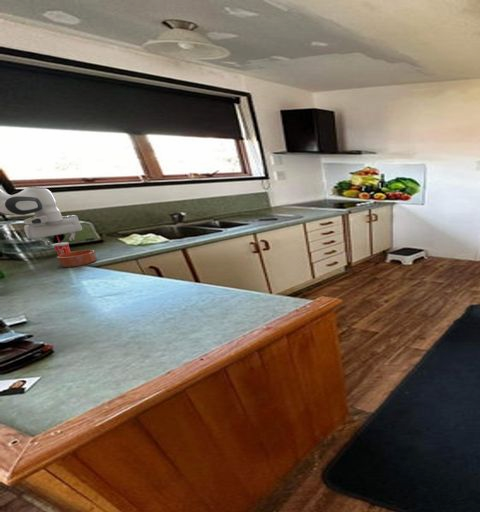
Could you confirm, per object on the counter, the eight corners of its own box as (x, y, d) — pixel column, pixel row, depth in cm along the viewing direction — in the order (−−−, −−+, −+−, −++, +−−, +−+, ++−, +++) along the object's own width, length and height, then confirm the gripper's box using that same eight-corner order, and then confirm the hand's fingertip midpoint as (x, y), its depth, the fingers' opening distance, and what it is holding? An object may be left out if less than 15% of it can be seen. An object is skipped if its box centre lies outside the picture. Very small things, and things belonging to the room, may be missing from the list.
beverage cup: (55, 261, 149) (44, 236, 144) (62, 258, 154) (52, 234, 150) (70, 259, 151) (60, 235, 147) (77, 256, 157) (67, 232, 152)
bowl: (57, 269, 136) (53, 259, 135) (65, 262, 146) (61, 253, 145) (94, 263, 144) (90, 254, 142) (99, 257, 154) (95, 248, 152)
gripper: (73, 214, 155) (83, 237, 160) (18, 221, 138) (30, 247, 142) (79, 214, 153) (88, 238, 158) (23, 222, 135) (35, 248, 140)
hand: (60, 242), depth 150 cm, fingers open, 8 cm apart
